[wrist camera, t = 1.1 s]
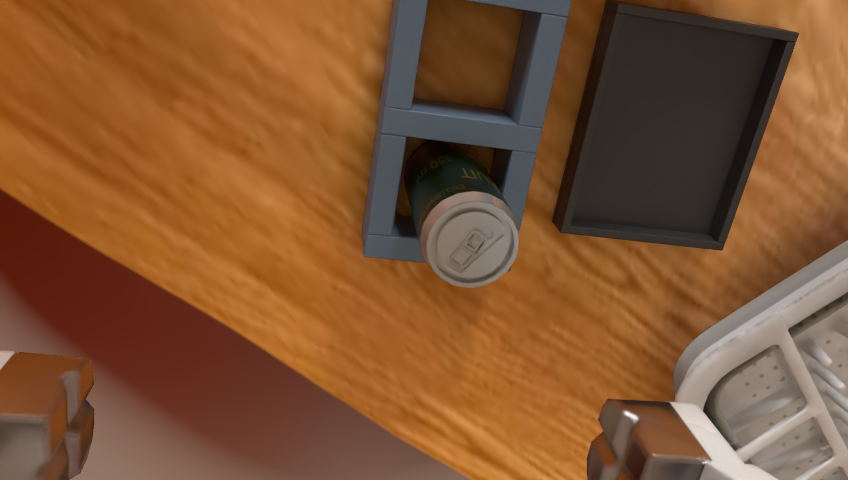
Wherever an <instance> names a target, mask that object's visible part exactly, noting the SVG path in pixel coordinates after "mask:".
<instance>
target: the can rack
mask: <svg viewBox="0 0 848 480" xmlns="http://www.w3.org/2000/svg"><path fill="white" fill-rule="evenodd" d="M464 1H470V2H476V3H482V4H489V5H495V6H501V7H507V8H513V9H519V10H525V11H524V16H523V21H522V26H521V31H520V36H519V40H518V45H517V50H516V55H515V60H514V65H513V70H512V75H511V79H510V84H509V89H508V94H507V99H506V104H505V109H504V110H498V109H491V108H484V107H477V106H469V105H462V104H455V103H448V102H440V101H433V100H426V99H419V98H413V94H414V88H415V81H416V75H417V68H418V62H419V55H420V49H421V42H422V36H423V29H424V23H425V16H426V10H427V3H428V0H394V1H393V9H392V16H391V23H390V31H389V38H388V45H387V53H386V60H385V67H384V75H383V82H382V89H381V96H380V104H379V111H378V119H377V126H376V133H375V141H374V148H373V155H372V163H371V170H370V177H369V185H368V192H367V199H366V207H365V214H364V221H363V228H362V240H363V254H364V257H372V258H382V259H392V260H402V261H412V262H422V263H427V262H426V260H425V258H424V256H423V254H422V252H421V248H420V244H419V240H418V236H417V232H416V228H415V224H414V220H413V217H407V216H398V215H395V211H396V204H397V198H398V191H399V185H400V178H401V172H402V165H403V159H404V152H405V146H406V139H407V137H414V138H421V139H429V140H437V141H445V142H452V143H460V144H468V145H476V146H483V147H491V148H496V152H495V157H494V162H493V166H492V171H491V178H492V179H493V181H494V182H495V184H496V186H497V187H498V189H499V191H500V192H501V194H502V195H503V197H504V199H505V200H506V202H507V204H508V205H509V207H510V208H511V210H512V212H513V214H514V216H515V219H516V221H517V223H518V234H519V229H520V225H521V221H522V216H523V212H524V208H525V203H526V199H527V194H528V190H529V186H530V181H531V177H532V173H533V168H534V164H535V159H536V155H537V151H538V146H539V142H540V138H541V133H542V128H543V124H544V120H545V115H546V111H547V106H548V102H549V98H550V93H551V89H552V85H553V80H554V76H555V72H556V67H557V63H558V58H559V54H560V50H561V45H562V41H563V37H564V32H565V28H566V24H567V19H568V18H567V17H568V15H569V11H570V6H571V2H572V0H464ZM510 268H511V266H510ZM510 268H509V269H508V271H510Z"/></svg>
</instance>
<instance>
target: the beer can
mask: <svg viewBox="0 0 848 480" xmlns="http://www.w3.org/2000/svg"><path fill="white" fill-rule="evenodd" d="M404 181H405V188H406V193H407V197H408V201H409V205H410V209H411V212H412V216H413V220H414V224H415V228H416V232H417V236H418V240H419V244H420V248H421V252H422V254H423V256H424V258H425V260H426V262H427V264H428V266H429V267H431V268H432V269H433V270H434V272H435V273H436V274H438V275H439V276H440V277H441V278H442V279H443V280H444V281H446V282H448V283H451V284H453V285H455V286H460V287H468V288H472V287H478V286H484V285H486V284H488V283H491V282H493V281H495V280H497V279H498V278H499V277H501V276H502V275H503V274H504V273H505V272H506V271H508V269H509V268H510V266H511V265H512V263H513V262H514V260H515V258H516V254H517V251H518V247H519V241H518V239H519V235H518V223H517V221H516V219H515V216H514V214H513V212H512V210H511V208H510V207H509V205H508V204H507V202H506V200H505V199H504V197H503V195H502V194H501V192H500V191H499V189H498V187H497V186H496V184H495V182H494V181H493V179H492V178H491V176H490V174H489V173H488V171H487V170H486V168H485V166H484V165H483V163H482V161H481V160H480V158H479V157H478V155H477V154H476V153H475V152H474V151H473V150H472V149H471V148H470V147H469V146H467V145H465V144H460V143H452V142H445V141H437V140H434V141H432V142H430V143H428V144H425V145H423V146H422V147H421V148H419V149H418V150H417V151H416V152H415V153H414V154H413V155H412V157H411V159H410V160H409V162H408V164H407V166H406V171H405V176H404Z"/></svg>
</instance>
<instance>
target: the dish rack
mask: <svg viewBox="0 0 848 480" xmlns="http://www.w3.org/2000/svg"><path fill="white" fill-rule="evenodd" d="M673 386H674V392H675V395H676V397H675V400H674V402H689V403H693V404H695V405H697V406H699V407H700V408H701V410H702V411H703V412H704V413H705V415H706V416H707V417H708V418H709V420H710V421H711V422H712V423H713V425H714V426H715V427H716V428H717V430H718V431H719V432H720V433H721V435H722V436H723V437H724V438H725V440H726V441H727V442H728V443H729V445H730V446H731V447H732V448H733V450H734V451H735V452H736V453H737V455H738V456H739V457H740V458H741V460H742V461H743V462H744V463H745V464H753V465H755V466H757V467H759V468H760V469H762V470H764V471H765V472H767V473H769V474H771V475H772V476H774V477H776V478H777V479H779V480H848V240H847V241H845V242H844V243H842V244H840V245H839V246H837V247H836V248H834V249H832V250H831V251H829V252H828V253H826V254H824V255H823V256H821V257H820V258H818V259H816V260H815V261H813V262H812V263H810V264H809V265H807V266H805V267H804V268H802V269H801V270H799V271H797V272H796V273H794V274H793V275H791V276H789V277H788V278H786V279H785V280H783V281H781V282H780V283H778V284H777V285H775V286H774V287H772V288H770V289H769V290H767V291H766V292H764V293H763V294H761V295H759V296H758V297H756V298H755V299H753V300H752V301H750V302H748V303H747V304H745V305H744V306H742V307H741V308H739V309H737V310H736V311H734V312H733V313H731V314H730V315H728V316H727V317H725V318H724V319H722V320H721V321H719V322H717V323H716V324H714V325H713V326H712V327H710V328H709V329H707V330H706V331H704V332H703V333H701V334H700V335H699V336H698V337H696V338H695V339H694V340H693V341H692V342H691V343H690V344H689V345H688V346H687V347H686V349H685V350H684V351H683V353H682V354H681V355H680V357H679V359H678V361H677V363H676V365H675V368H674V373H673Z"/></svg>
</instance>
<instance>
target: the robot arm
mask: <svg viewBox="0 0 848 480" xmlns="http://www.w3.org/2000/svg"><path fill="white" fill-rule="evenodd" d="M93 385H94V376H93V364H92V362H91V361H90V359H87V358H77V357H66V356H56V355H45V354H34V353H24V352H19V353H17V352H15V351H2V350H0V480H69V479H71V478H73V477H74V476H76V475H78V474H79V473H80V472H81V470H82V468H83V466H84V464H85V462H86V459H87V457H88V453H89V449H90V446H91V442H92V437H93V428H94V409H93V407H92V406H91V405H90V404H89V403H88V402H87V400H86V398H87V396H88V394H89V392H90V390H91V388H92V387H93ZM598 420H599V422H600V424H601V427H602V429H603V432H602V433H601V434H600V435H599V436H597V437H596V438H595V439H594V440H593V441H592V442H591V446H590V449H589V453H588V457H587V477H588V480H779V479H777V478H776V477H774V476H772V475H771V474H769V473H767V472H765V471H764V470H762V469H760V468H759V467H757V466H755V465H753V464H745V463H744V462H743V461H742V460H741V458H740V457H739V456H738V455H737V453H736V452H735V451H734V450H733V448H732V447H731V446H730V445H729V443H728V442H727V441H726V440H725V438H724V437H723V436H722V435H721V433H720V432H719V431H718V430H717V428H716V427H715V426H714V425H713V423H712V422H711V421H710V420H709V418H708V417H707V416H706V415H705V413H704V412H703V411H702V410H701V408H700V407H699V406H697V405H695V404H693V403H689V402H656V401H637V400H618V399H607V401H606V402H605V404H604V405H603V406H602V409H601V412H600V415H599V419H598Z"/></svg>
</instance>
